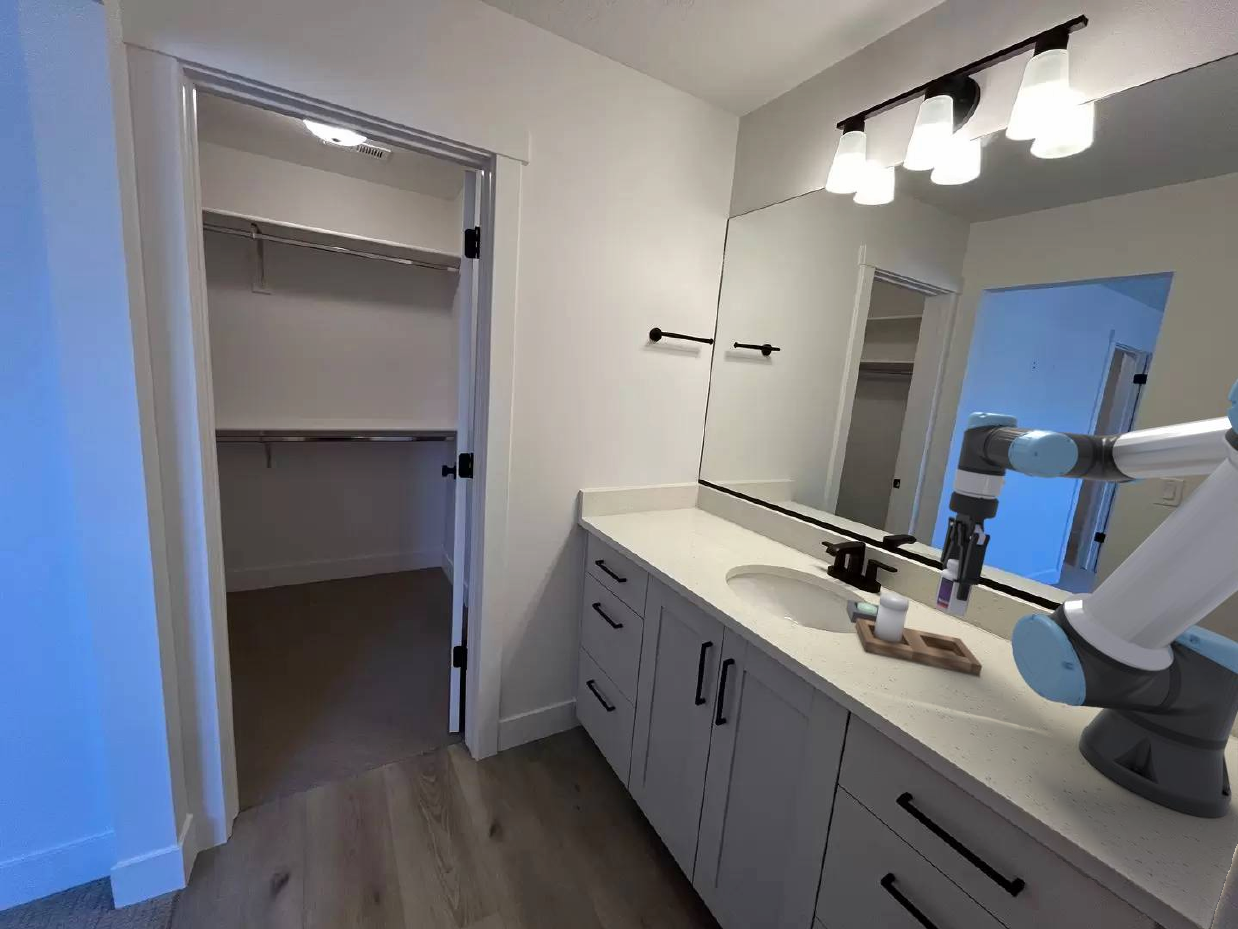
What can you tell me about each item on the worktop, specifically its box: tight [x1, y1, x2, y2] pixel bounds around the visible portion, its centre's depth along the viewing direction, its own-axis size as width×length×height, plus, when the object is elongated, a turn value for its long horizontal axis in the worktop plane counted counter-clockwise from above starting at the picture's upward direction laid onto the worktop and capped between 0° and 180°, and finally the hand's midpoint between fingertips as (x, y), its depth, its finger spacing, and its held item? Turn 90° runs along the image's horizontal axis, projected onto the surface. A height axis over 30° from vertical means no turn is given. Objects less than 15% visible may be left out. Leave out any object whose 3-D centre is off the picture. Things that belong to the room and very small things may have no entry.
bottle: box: [873, 592, 910, 644], centre depth 103 cm, size 5×5×10 cm
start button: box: [857, 602, 877, 614], centre depth 115 cm, size 4×4×3 cm
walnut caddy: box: [855, 618, 983, 676], centre depth 102 cm, size 20×11×3 cm, turn 74°
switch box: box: [845, 599, 879, 624], centre depth 115 cm, size 7×7×4 cm
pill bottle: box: [934, 559, 973, 614], centre depth 99 cm, size 5×5×10 cm
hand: (950, 607), depth 100 cm, fingers closed on pill bottle, 5 cm apart
